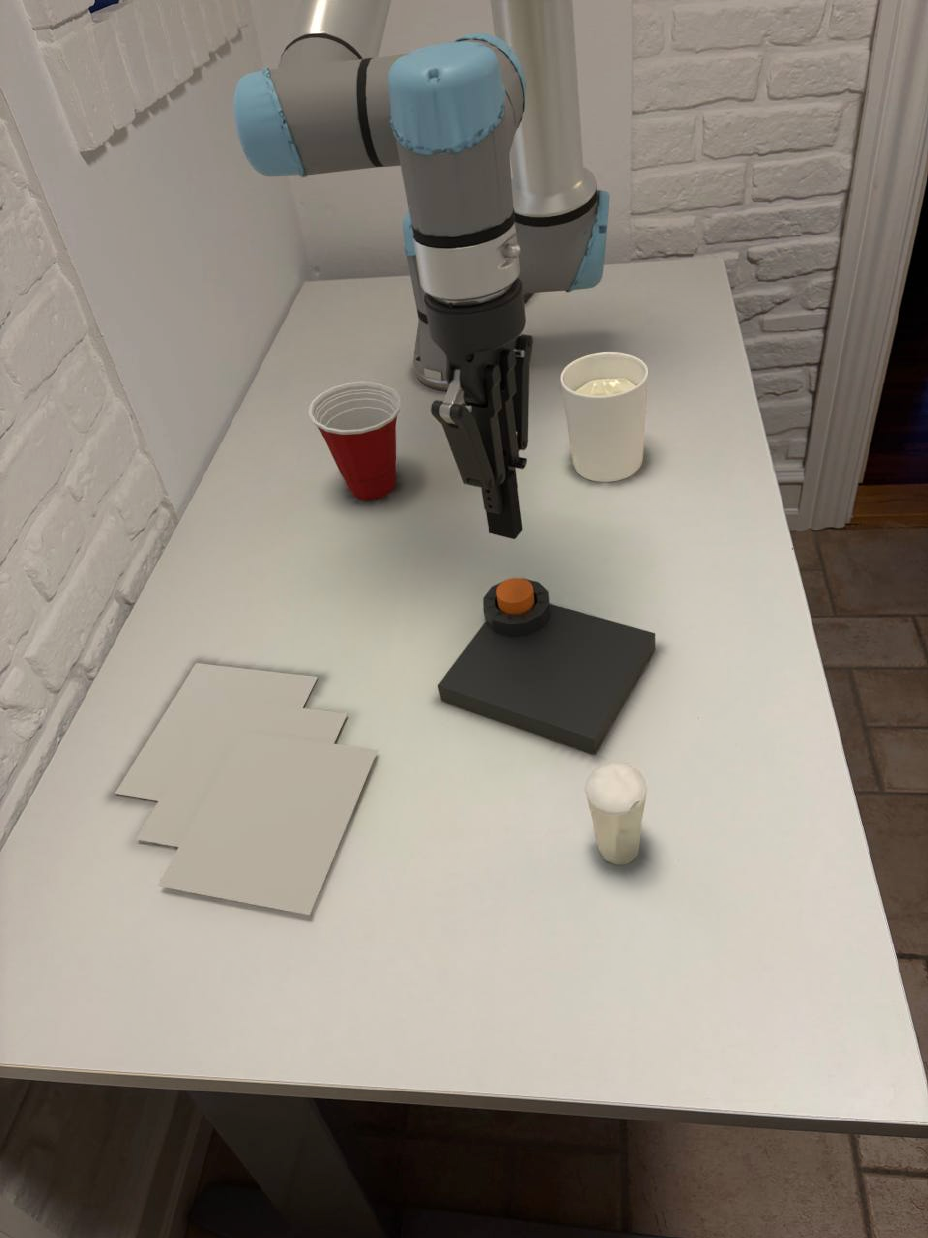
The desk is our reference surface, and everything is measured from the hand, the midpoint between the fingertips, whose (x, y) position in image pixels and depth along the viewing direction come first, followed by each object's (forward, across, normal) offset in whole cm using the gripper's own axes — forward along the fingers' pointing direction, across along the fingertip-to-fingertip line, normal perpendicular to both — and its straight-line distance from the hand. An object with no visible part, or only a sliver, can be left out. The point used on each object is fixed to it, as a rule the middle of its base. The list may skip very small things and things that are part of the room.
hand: (505, 531), depth 88 cm
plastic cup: (+13, +16, +29) cm, 35 cm away
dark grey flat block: (+13, -4, -5) cm, 15 cm away
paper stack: (+13, -26, +15) cm, 33 cm away
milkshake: (+13, -19, -19) cm, 30 cm away
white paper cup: (+13, +30, +4) cm, 33 cm away
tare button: (+9, 0, 0) cm, 9 cm away
